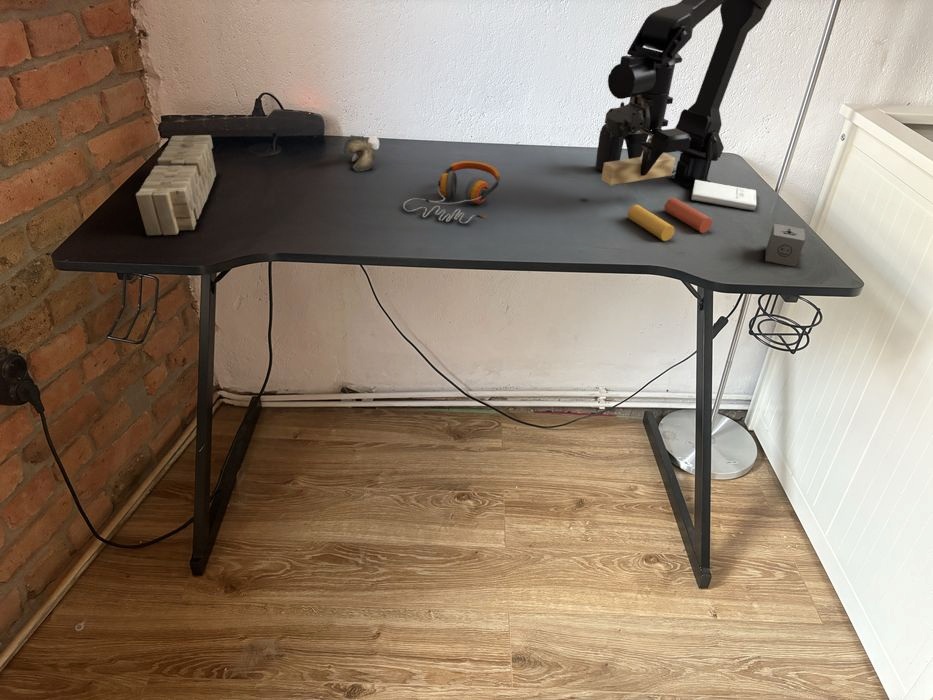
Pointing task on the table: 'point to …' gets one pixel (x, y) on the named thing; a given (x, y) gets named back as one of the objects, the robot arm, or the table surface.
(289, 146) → the table surface
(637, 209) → the ochre rod
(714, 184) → the hard drive
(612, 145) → the two-way radio
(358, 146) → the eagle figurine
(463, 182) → the table surface
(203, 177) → the block tower
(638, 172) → the light wooden bar
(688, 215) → the terracotta rod
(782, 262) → the dice cube
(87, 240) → the table surface
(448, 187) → the headphones
